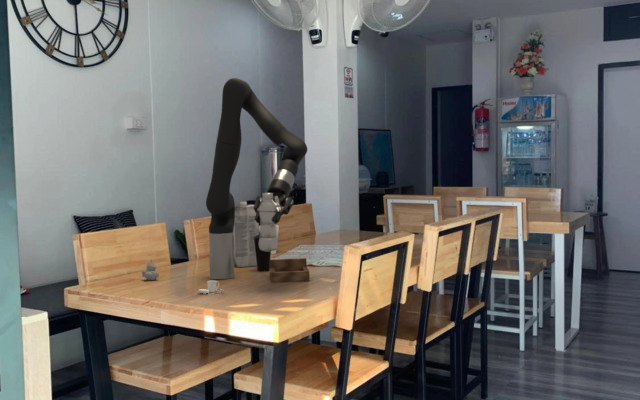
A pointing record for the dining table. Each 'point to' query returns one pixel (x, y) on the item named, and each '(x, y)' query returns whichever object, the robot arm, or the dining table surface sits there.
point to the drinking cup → (261, 256)
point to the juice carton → (245, 235)
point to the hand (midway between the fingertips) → (265, 221)
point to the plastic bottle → (267, 223)
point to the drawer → (288, 270)
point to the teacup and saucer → (210, 287)
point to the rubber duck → (150, 272)
